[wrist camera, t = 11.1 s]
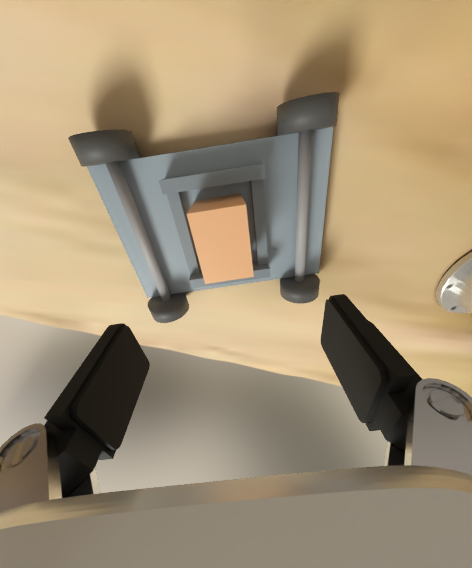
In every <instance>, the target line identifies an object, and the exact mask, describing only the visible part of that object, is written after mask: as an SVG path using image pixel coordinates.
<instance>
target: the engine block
mask: <svg viewBox="0 0 472 568" xmlns="http://www.w3.org/2000/svg"><path fill="white" fill-rule="evenodd" d="M187 217H188V221H189V225H190V229H191V233H192V236H193V240H194V244H195V248H196V252H197V255H198V259H199V263H200V267H201V270H202V274H203V278H204V282H205V284H209V283H216V282H223V281H229V280H236V279H243V278H249V277H254V274H253V265H252V255H251V246H250V236H249V227H248V218H247V208H246V203H245V201H244V199H243V197H242V195H241V193H240V194H234V195H228V196H222V197H215V198H209V199H203V200H197V201H194V203H193V205H192V206H191V208H190V209H189V211H188V212H187Z"/></svg>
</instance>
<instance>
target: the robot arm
mask: <svg viewBox="0 0 472 568" xmlns="http://www.w3.org/2000/svg"><path fill="white" fill-rule="evenodd" d="M436 299H437V302H438V304H439V305H440V306H442V307H443V308H444V309H446V310H448V311H450V312H454V313H466V312H470V313H472V252H470V253H469V254H467V255H466V256H464V257H463V258H461V259H460V260H459V261H458V262H456V263H455V264H454V265H453V266H452V267H451V268H450V269H449V270H448V271H447V272H446V274H445V275H444V276H443V278H442V279H441V281H440V283H439V285H438V287H437V291H436ZM321 345H322V347H323V350H324V351H325V353H326V355H327V357H328V359H329V361H330V363H331V365H332V367H333V369H334V371H335V373H336V375H337V377H338V379H339V381H340V383H341V385H342V387H343V389H344V391H345V393H346V394H347V397H348V399H349V401H350V403H351V405H352V406H353V408H354V410H355V412H356V414H357V416H358V418H359V420H360V421H361V422H362V423H366V425H367V427H368V429H369V431H376V430H381V432H382V434H383V435H384V437H385V439H386V440H387V448H386V455H385V462H384V466H379V467H366V468H352V469H340V470H339V469H338V470H327V471H317V472H306V473H296V474H285V475H275V476H265V477H254V478H245V479H234V480H224V481H214V482H204V483H195V484H185V485H175V486H165V487H156V488H146V489H137V490H127V491H119V492H109V493H101V492H100V488H99V484H98V479H97V474H96V469H95V466H96V463H97V461H98V459H99V460H104V459H113V457H114V454H115V451H116V449H118V448H119V447H120V445H121V443H122V441H123V438H124V435H125V432H126V430H127V426H128V424H129V421H130V419H131V416H132V413H133V411H134V408H135V405H136V402H137V400H138V397H139V394H140V392H141V389H142V386H143V383H144V381H145V378H146V375H147V373H148V370H149V361H148V359H147V357H146V356H145V354H144V352H143V350H142V349H141V347H140V345H139V343H138V342H137V340H136V338H135V336H134V335H133V333H132V331H131V329H130V328H129V327H128V326H126V325H125V324H115V325H110V326H108V328H107V329H106V330H105V332H104V333H103V335H102V336H101V338H100V339H99V341H98V342H97V343H96V345H95V346H94V348H93V349H92V350H91V352H90V353H89V355H88V356H87V357H86V359H85V360H84V362H83V363H82V365H81V366H80V368H79V369H78V370H77V372H76V373H75V375H74V376H73V377H72V379H71V380H70V382H69V383H68V385H67V386H66V388H65V389H64V390H63V392H62V393H61V395H60V396H59V397H58V399H57V400H56V402H55V403H54V405H53V406H52V407H51V409H50V410H49V412H48V413H47V414H46V416H45V417H44V418H45V419H47V420H48V421H47V422H46V424H45V425H42V424H33V425H30V426H27V427H25V428H23V429H21V430H20V431H18V432H17V433H16V434H14V435H13V436H11V437H10V438H9V439H8V440H7V441H6V442H5V443H4V444H3V445H2V446H1V447H0V568H472V397H470V396H469V395H468V394H467V393H466V392H464V391H463V390H461V389H460V388H458V387H457V386H455V385H452V384H450V383H448V382H446V381H442V380H439V379H431V378H428V379H423V380H422V378H421V377H420V376H419V375H418V374H417V373H416V372H415V371H414V369H413V368H412V367H411V366H410V365H409V364H408V363H407V362H406V360H405V359H404V358H403V357H402V356H401V355H400V354H399V352H398V351H397V350H396V349H395V348H394V347H393V346H392V345H391V343H390V342H389V341H388V340H387V339H386V338H385V337H384V336H383V334H382V333H381V332H380V331H379V330H378V329H377V328H376V327H375V325H374V324H373V323H371V322H370V321H368V320H367V319H366V318H365V317H364V316H363V315H362V313H361V312H360V311H359V310H358V309H357V308H356V307H355V305H354V304H353V303H352V302H351V301H350V300H349V299H348V297H347V296H346V295H344V294H342V295H334V296H330V298H329V299H328V300H326V303H325V311H324V319H323V326H322V334H321Z"/></svg>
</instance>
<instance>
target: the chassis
mask: <svg viewBox="0 0 472 568" xmlns="http://www.w3.org/2000/svg"><path fill="white" fill-rule="evenodd" d="M338 101H339V93H336V92H331V93H322V94H316V95H310V96H306V97H302V98H298V99H294V100H291V101H288V102H286V103H283V104H281V105H279V106H278V107H277V136H274V137H267V138H261V139H255V140H249V141H243V142H237V143H230V144H224V145H218V146H212V147H206V148H199V149H193V150H187V151H181V152H175V153H169V154H162V155H156V156H150V157H144V158H140V156H139V153H138V150H137V147H136V144H135V141H134V138H133V135H132V132H131V131H127V130H103V131H93V132H86V133H81V134H76V135H73V136H70V137H69V141H70V143H71V145H72V147H73V149H74V151H75V153H76V155H77V157H78V160H79V162H80V164H81V166H88V167H87V168H88V170H89V172H90V174H91V177H92V179H93V181H94V183H95V185H96V187H97V190H98V192H99V194H100V196H101V198H102V200H103V203H104V205H105V207H106V209H107V211H108V213H109V216H110V218H111V220H112V222H113V224H114V226H115V229H116V231H117V233H118V235H119V237H120V239H121V242H122V244H123V246H124V248H125V250H126V252H127V255H128V257H129V259H130V261H131V263H132V265H133V268H134V270H135V272H136V274H137V276H138V278H139V281H140V283H141V285H142V287H143V289H144V291H145V294H146V296H147V298H149V297H152V298H151V299H150V300H149V302H148V307H149V310H150V312H151V314H152V316H153V318H154V320H155V321H157V322H160V323H168V322H172V321H175V320H177V319H179V318H181V317H182V316H183V315H185V314H186V312H187V311H188V309H189V304H188V301H187V298H186V295H185V292H191V291H198V290H205V289H211V288H218V287H225V286H232V285H239V284H246V283H253V282H260V281H267V280H273V279H280V278H281V279H280V292H281V296H282V297H283V298H284V299H286V300H287V301H290V302H293V303H308V302H311V301H313V300H315V299H316V298H317V297H318V292H319V283H320V280H319V278H318V276H317V275H315V273H319V267H320V257H321V247H322V237H323V227H324V217H325V207H326V196H327V186H328V176H329V166H330V156H331V146H332V136H333V127H332V126H336V120H337V111H338ZM328 127H329V128H328ZM240 193H241V195H242V197H243V199H244V201H245V203H246V208H247V218H248V227H249V236H250V246H251V255H252V265H253V274H254V277H249V278H243V279H236V280H229V281H223V282H216V283H209V284H205V282H204V278H203V274H202V270H201V267H200V263H199V259H198V255H197V252H196V248H195V244H194V240H193V236H192V233H191V229H190V225H189V221H188V217H187V212H188V211H189V209H190V208H191V206H192V205H193V203H194V201H197V200H203V199H209V198H215V197H222V196H228V195H234V194H240Z"/></svg>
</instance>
